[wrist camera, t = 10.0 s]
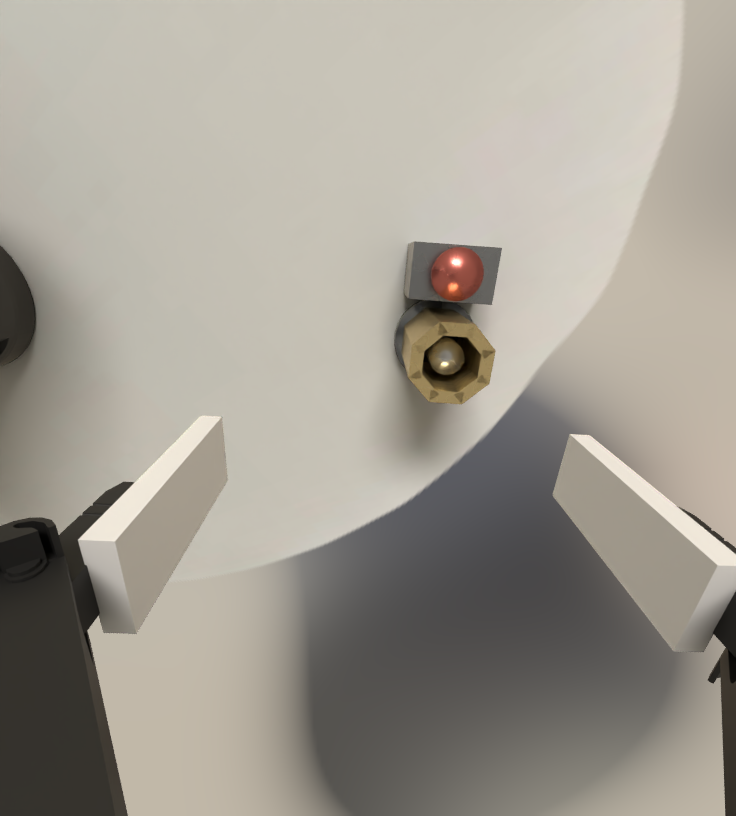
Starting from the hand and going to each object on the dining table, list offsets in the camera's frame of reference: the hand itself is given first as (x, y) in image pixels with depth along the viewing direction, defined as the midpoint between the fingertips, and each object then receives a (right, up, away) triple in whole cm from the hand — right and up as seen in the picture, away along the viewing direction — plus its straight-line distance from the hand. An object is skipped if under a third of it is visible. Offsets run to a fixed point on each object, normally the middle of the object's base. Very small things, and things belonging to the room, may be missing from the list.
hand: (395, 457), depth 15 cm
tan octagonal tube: (+6, +9, +24) cm, 26 cm away
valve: (+6, +11, +24) cm, 27 cm away
